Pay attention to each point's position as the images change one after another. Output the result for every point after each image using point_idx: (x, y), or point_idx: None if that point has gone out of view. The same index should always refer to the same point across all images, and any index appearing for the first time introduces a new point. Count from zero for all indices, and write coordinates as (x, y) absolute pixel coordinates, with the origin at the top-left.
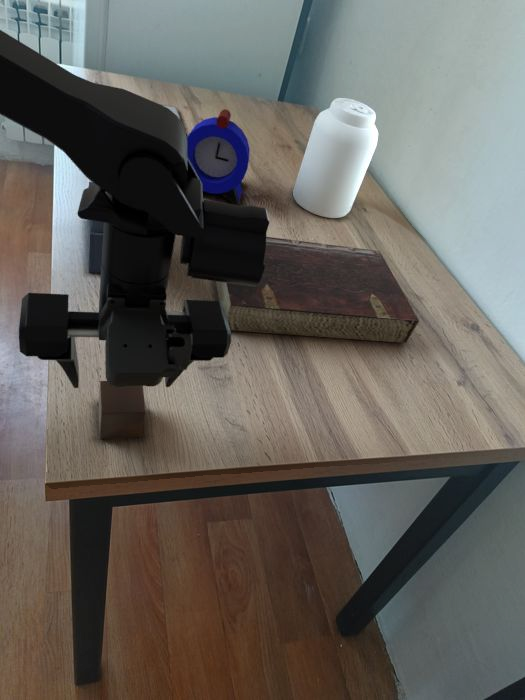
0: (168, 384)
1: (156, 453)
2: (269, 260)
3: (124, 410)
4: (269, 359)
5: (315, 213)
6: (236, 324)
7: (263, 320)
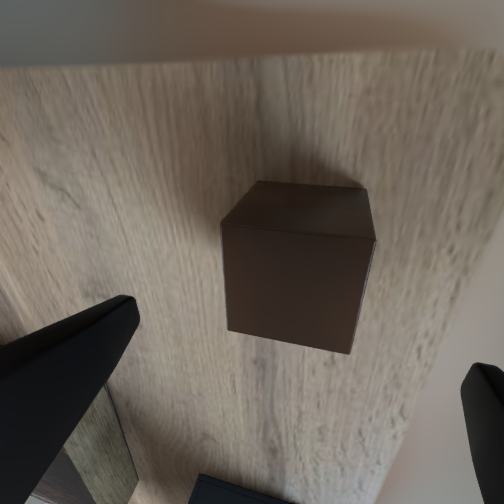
0: (113, 303)
1: (223, 124)
2: None
3: (289, 239)
4: (31, 316)
5: None
6: None
7: None
